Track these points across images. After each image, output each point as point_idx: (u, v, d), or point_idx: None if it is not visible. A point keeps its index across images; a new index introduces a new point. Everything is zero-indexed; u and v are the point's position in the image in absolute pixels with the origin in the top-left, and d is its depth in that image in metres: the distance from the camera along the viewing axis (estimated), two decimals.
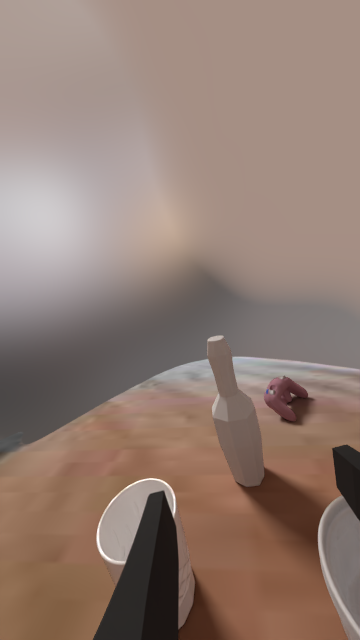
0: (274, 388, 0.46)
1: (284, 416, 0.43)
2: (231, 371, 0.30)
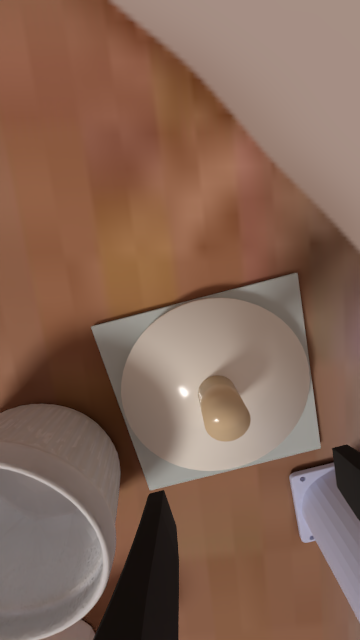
0: None
1: None
2: None
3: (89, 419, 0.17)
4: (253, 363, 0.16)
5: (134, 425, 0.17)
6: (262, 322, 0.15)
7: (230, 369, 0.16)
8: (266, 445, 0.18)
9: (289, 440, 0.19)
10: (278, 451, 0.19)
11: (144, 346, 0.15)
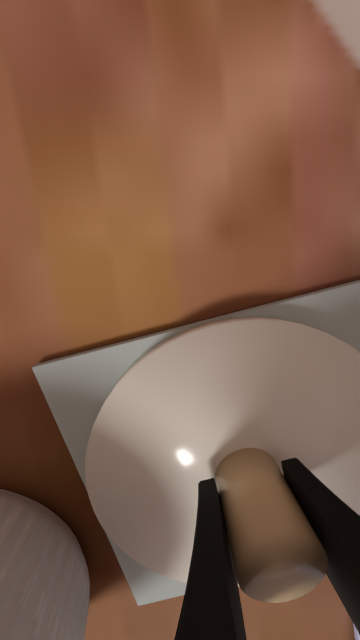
0: None
1: None
2: None
3: (35, 515, 0.10)
4: (310, 428, 0.09)
5: (110, 526, 0.10)
6: (330, 361, 0.09)
7: (271, 438, 0.09)
8: None
9: None
10: None
11: (123, 403, 0.09)
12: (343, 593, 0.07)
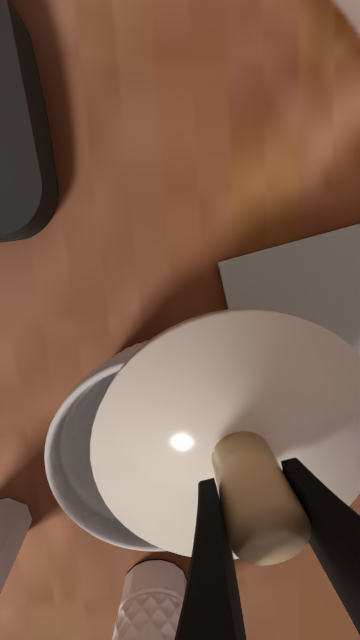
0: None
1: None
2: None
3: None
4: (300, 413, 0.10)
5: (113, 503, 0.11)
6: (321, 351, 0.09)
7: (264, 422, 0.10)
8: None
9: None
10: None
11: (126, 388, 0.09)
12: (343, 593, 0.07)
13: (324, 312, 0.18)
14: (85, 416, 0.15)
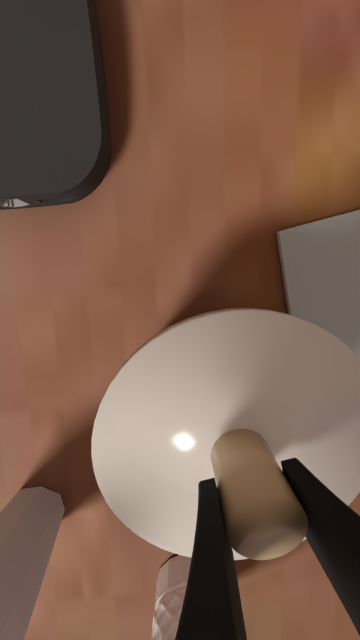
0: None
1: None
2: None
3: None
4: (298, 411, 0.10)
5: (112, 500, 0.11)
6: (317, 350, 0.10)
7: (262, 420, 0.10)
8: None
9: None
10: None
11: (128, 384, 0.10)
12: (343, 593, 0.07)
13: None
14: None
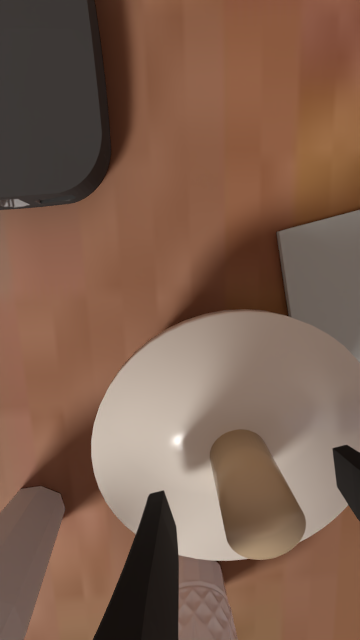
0: None
1: None
2: None
3: None
4: (296, 411, 0.10)
5: (113, 501, 0.11)
6: (314, 350, 0.10)
7: (260, 420, 0.10)
8: (308, 526, 0.12)
9: None
10: None
11: (126, 386, 0.10)
12: None
13: None
14: None
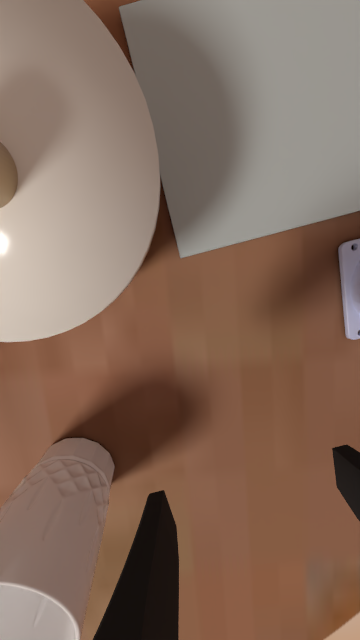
0: None
1: None
2: None
3: None
4: (40, 105, 0.08)
5: None
6: (41, 2, 0.08)
7: None
8: (97, 293, 0.10)
9: (341, 192, 0.16)
10: (328, 208, 0.16)
11: None
12: None
13: (255, 90, 0.15)
14: None
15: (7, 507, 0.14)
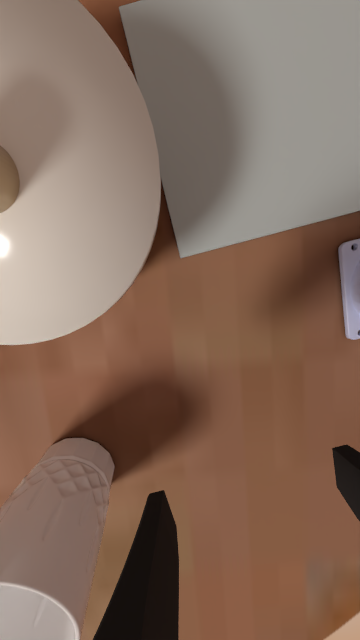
0: None
1: None
2: None
3: None
4: (41, 109, 0.08)
5: None
6: (40, 6, 0.08)
7: None
8: (100, 294, 0.10)
9: (341, 192, 0.16)
10: (328, 208, 0.16)
11: None
12: None
13: (255, 90, 0.15)
14: None
15: (7, 507, 0.14)
